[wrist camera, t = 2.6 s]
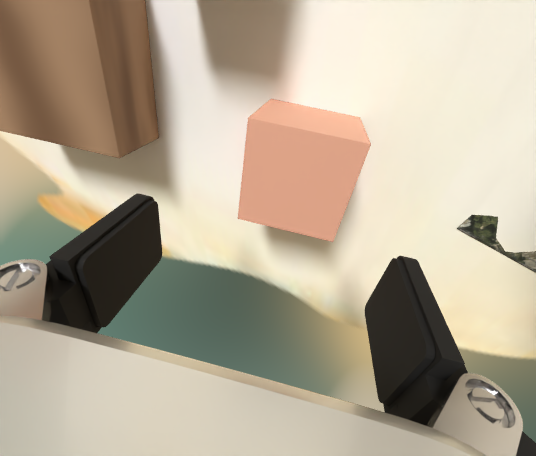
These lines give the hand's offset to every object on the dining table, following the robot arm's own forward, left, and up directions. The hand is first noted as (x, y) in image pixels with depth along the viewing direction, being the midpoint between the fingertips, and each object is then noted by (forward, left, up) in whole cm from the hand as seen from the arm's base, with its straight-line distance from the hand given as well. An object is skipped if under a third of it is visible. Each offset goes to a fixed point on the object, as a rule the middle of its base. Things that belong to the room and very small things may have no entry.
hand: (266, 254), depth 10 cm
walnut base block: (+16, -4, -11) cm, 20 cm away
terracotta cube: (0, -1, -11) cm, 11 cm away
